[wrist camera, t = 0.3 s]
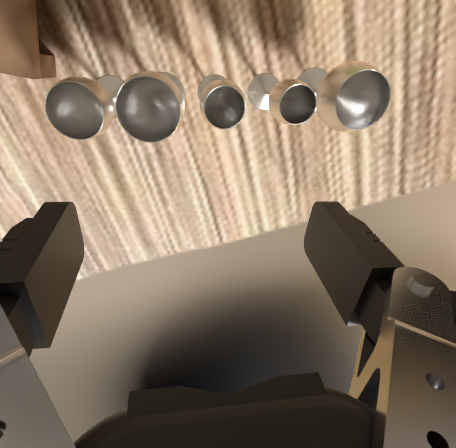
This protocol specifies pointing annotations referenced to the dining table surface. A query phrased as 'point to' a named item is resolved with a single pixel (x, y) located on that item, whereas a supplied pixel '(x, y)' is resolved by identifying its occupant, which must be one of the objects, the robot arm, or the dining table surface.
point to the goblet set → (216, 101)
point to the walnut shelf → (22, 42)
